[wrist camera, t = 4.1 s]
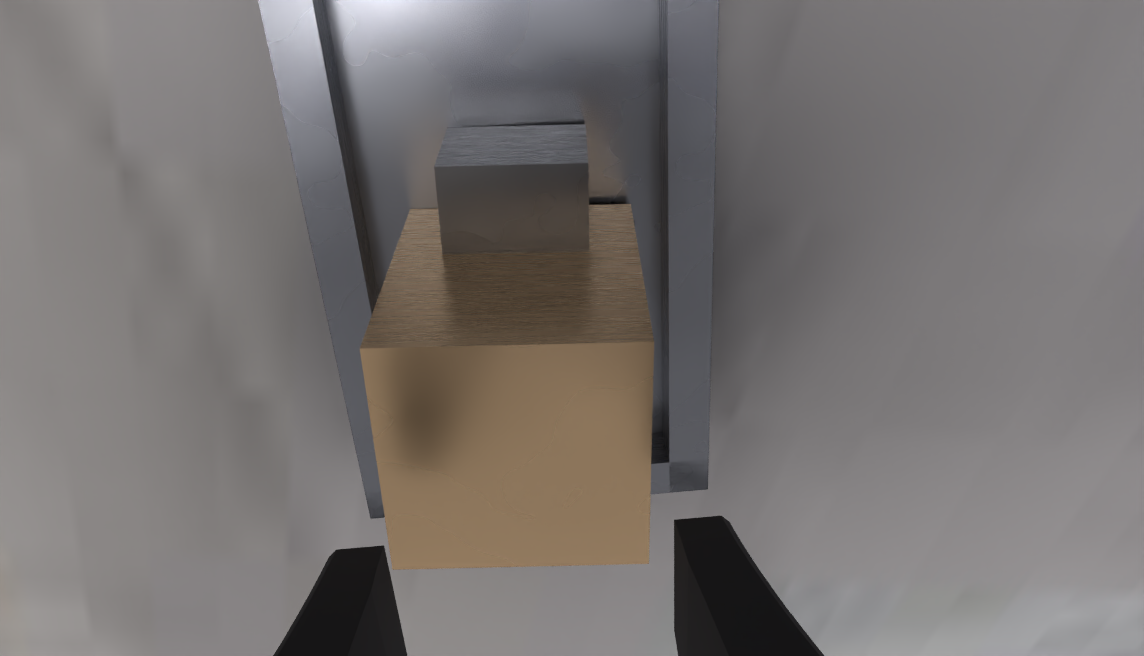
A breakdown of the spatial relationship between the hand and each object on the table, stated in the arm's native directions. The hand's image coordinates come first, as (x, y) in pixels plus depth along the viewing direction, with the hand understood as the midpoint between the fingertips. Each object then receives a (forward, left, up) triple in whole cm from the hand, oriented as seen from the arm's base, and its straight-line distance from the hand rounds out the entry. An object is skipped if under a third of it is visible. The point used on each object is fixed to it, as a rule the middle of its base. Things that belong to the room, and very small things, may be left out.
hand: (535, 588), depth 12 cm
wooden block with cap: (0, 0, -7) cm, 7 cm away
